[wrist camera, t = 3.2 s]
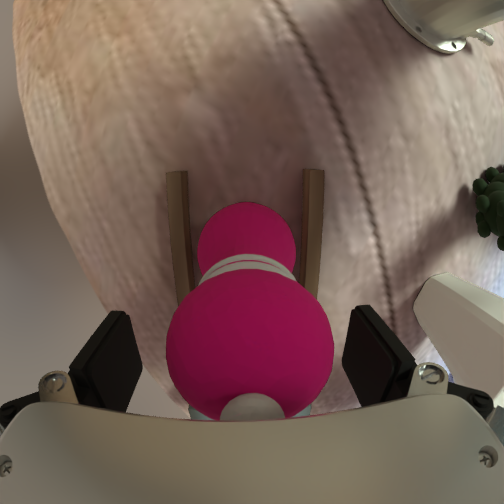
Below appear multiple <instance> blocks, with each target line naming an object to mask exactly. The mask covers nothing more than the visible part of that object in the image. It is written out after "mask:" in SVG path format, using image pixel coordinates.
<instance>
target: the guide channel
mask: <svg viewBox="0 0 504 504" xmlns="http://www.w3.org/2000/svg"><path fill="white" fill-rule="evenodd" d="M166 183H167V201H168V216H169V229H170V240H171V250H172V260H173V269H174V277H175V285H176V293H177V300H178V306H179V305H180V303H181V302H182V301H183V299H184V298H185V296H186V295H188V294H189V293H190V292H191V291H193V290H194V289H195V283H194V272H193V261H192V249H191V236H190V221H189V203H188V180H187V171H178V172H168V173H166ZM323 206H324V170H315V169H303V206H302V236H301V258H300V276H299V284H300V285H302V286H303V287H304V288H305V289H306V290H307V291H309V292H310V293H311V294H312V295H313V296H314V297H315V299H316V300H317V293H318V282H319V271H320V258H321V244H322V227H323ZM188 410H189V413H190V417H191V419H192V420H213V419H210V418H208V417H207V416H205V415H203V414H202V413H200V412H199V411H197V410H196V409H195V408H193V407H192V406H191V405H190V404H189V408H188ZM310 411H311V404H309V405H308V406H307V407H306V408H305V409H304V410H302V411H301V412H299V413H298V414H296V415H295V416H293V417H301V416H309V415H310Z"/></svg>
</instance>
